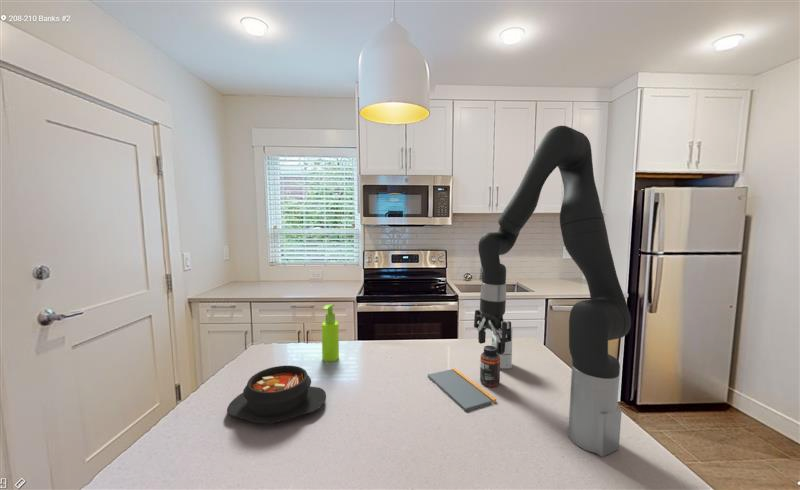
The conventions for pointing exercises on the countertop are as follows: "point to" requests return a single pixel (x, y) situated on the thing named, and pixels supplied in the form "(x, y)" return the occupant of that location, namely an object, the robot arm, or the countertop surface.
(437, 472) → the countertop surface
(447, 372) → the grey board
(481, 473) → the countertop surface
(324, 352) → the soap dispenser
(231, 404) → the casserole
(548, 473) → the countertop surface
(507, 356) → the syrup box
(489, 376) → the supplement bottle
